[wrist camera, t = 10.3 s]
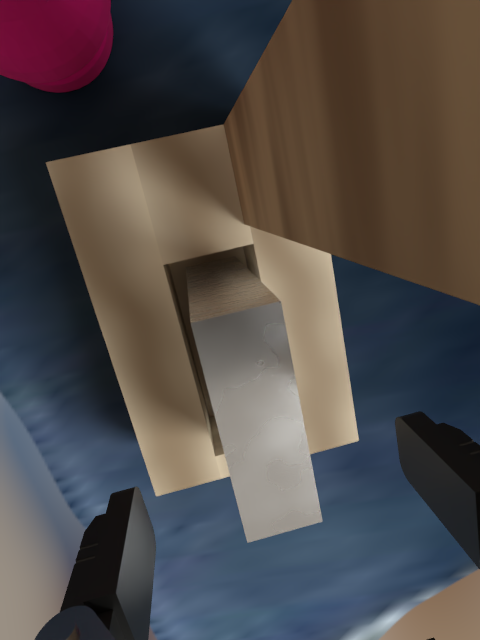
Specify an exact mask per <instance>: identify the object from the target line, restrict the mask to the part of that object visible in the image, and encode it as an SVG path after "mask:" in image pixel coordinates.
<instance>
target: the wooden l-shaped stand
mask: <svg viewBox="0 0 480 640" xmlns="http://www.w3.org/2000/svg"><path fill="white" fill-rule="evenodd" d="M46 165H47V168H48V171H49V174H50V177H51V180H52V183H53V186H54V189H55V192H56V195H57V198H58V201H59V204H60V207H61V210H62V213H63V216H64V219H65V222H66V225H67V228H68V231H69V234H70V237H71V240H72V243H73V246H74V249H75V252H76V255H77V258H78V261H79V264H80V267H81V270H82V274H83V277H84V280H85V283H86V286H87V289H88V292H89V295H90V298H91V301H92V304H93V307H94V310H95V313H96V316H97V319H98V322H99V325H100V328H101V331H102V334H103V337H104V340H105V343H106V346H107V349H108V352H109V355H110V358H111V361H112V364H113V367H114V370H115V373H116V376H117V379H118V382H119V385H120V388H121V391H122V394H123V397H124V400H125V403H126V406H127V409H128V412H129V415H130V418H131V421H132V424H133V427H134V430H135V433H136V436H137V439H138V442H139V446H140V449H141V452H142V455H143V458H144V461H145V464H146V467H147V470H148V473H149V476H150V479H151V482H152V485H153V488H154V491H155V494H156V496H160V495H163V494H167V493H171V492H174V491H178V490H182V489H185V488H189V487H192V486H196V485H200V484H203V483H207V482H211V481H214V480H218V479H222V478H225V477H229V476H230V473H229V470H228V466H227V462H226V458H225V454H224V450H223V446H222V443H221V439H220V435H219V431H218V427H217V423H216V419H215V416H214V412H213V408H212V404H211V400H210V396H209V392H208V389H207V385H206V381H205V377H204V373H203V369H202V365H201V362H200V358H199V354H198V350H197V346H196V342H195V338H194V335H193V331H192V327H191V323H190V311H189V299H188V287H187V275H186V267H190V266H194V265H198V264H203V263H207V262H211V261H215V260H220V259H224V258H228V257H233V256H235V257H237V258H238V259H239V260H240V261H241V262H242V263H243V264H244V265H245V266H246V267H247V268H248V269H249V270H250V271H251V272H252V273H253V274H254V275H255V276H256V277H257V278H258V279H259V280H260V281H261V282H262V283H263V284H264V285H265V286H266V287H267V288H268V289H269V290H270V291H271V292H272V293H273V294H274V295H275V296H276V297H277V298H278V299H279V300H280V301H281V304H282V309H283V314H284V320H285V325H286V330H287V336H288V341H289V346H290V352H291V357H292V362H293V367H294V373H295V378H296V383H297V389H298V394H299V399H300V405H301V410H302V415H303V421H304V426H305V431H306V436H307V442H308V447H309V452H310V454H313V453H316V452H320V451H324V450H327V449H331V448H334V447H338V446H342V445H345V444H349V443H353V442H356V441H359V439H358V432H357V425H356V419H355V412H354V405H353V399H352V392H351V385H350V379H349V372H348V365H347V359H346V352H345V345H344V339H343V332H342V325H341V319H340V312H339V305H338V299H337V292H336V285H335V279H334V272H333V265H332V259H331V254H332V255H335V256H338V257H341V258H344V259H347V260H350V261H353V262H355V263H358V264H361V265H364V266H367V267H370V268H373V269H376V270H379V271H382V272H385V273H388V274H390V275H393V276H396V277H399V278H402V279H405V280H408V281H411V282H414V283H417V284H420V285H423V286H425V287H428V288H431V289H434V290H437V291H440V292H443V293H446V294H449V295H452V296H455V297H457V298H460V299H463V300H466V301H469V302H472V303H475V304H478V305H480V0H292V2H291V4H290V6H289V7H288V9H287V11H286V13H285V15H284V16H283V18H282V20H281V22H280V24H279V25H278V27H277V29H276V31H275V33H274V34H273V36H272V38H271V40H270V42H269V43H268V45H267V47H266V49H265V51H264V53H263V54H262V56H261V58H260V60H259V62H258V63H257V65H256V67H255V69H254V71H253V72H252V74H251V76H250V78H249V80H248V81H247V83H246V85H245V87H244V89H243V90H242V92H241V94H240V96H239V98H238V99H237V101H236V103H235V105H234V107H233V108H232V110H231V112H230V114H229V116H228V117H227V119H226V121H225V123H224V124H223V125H219V126H214V127H209V128H205V129H200V130H195V131H190V132H186V133H181V134H176V135H172V136H167V137H162V138H158V139H153V140H148V141H144V142H139V143H134V144H130V145H125V146H120V147H115V148H111V149H106V150H101V151H97V152H92V153H87V154H83V155H78V156H73V157H69V158H64V159H59V160H55V161H50V162H46Z"/></svg>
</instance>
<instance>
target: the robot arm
mask: <svg viewBox="0 0 480 640" xmlns="http://www.w3.org/2000/svg"><path fill="white" fill-rule="evenodd" d="M395 427H396V435H397V443H398V451H399V459H400V464H401V467H402V470H403V472H404V474H405V476H406V478H407V480H408V481H409V482H410V484H411V485H412V486H413V487H414V489H415V490H416V491H417V492H418V494H419V495H420V496H421V497H422V499H423V500H424V501H425V502H426V504H427V505H428V506H429V507H430V509H431V510H432V511H433V512H434V513H435V515H436V516H437V517H438V518H439V520H440V521H441V522H442V523H443V525H444V526H445V527H446V528H447V530H448V531H449V532H450V533H451V535H452V536H453V537H454V538H455V540H456V541H457V542H458V543H459V545H460V546H461V547H462V548H463V549H464V551H465V552H466V553H467V554H468V556H469V557H470V558H471V559H472V561H473V562H474V563H475V564H476V566H477V567H478V568H479V569H480V445H479V444H477V443H476V442H474V441H473V440H472V439H471V438H470V437H469V436H468V435H466V434H465V433H464V432H463V431H461V430H460V429H457V428H455V427H452V426H450V425H448V424H445V423H441V424H435V423H434V422H433V421H432V420H431V419H430V418H429V417H427V416H426V415H425V414H424V413H423V412H420V411H419V412H416V413H412V414H408V415H404V416H401V417H397V418H396V420H395ZM155 554H156V542H155V535H154V530H153V527H152V524H151V521H150V518H149V515H148V512H147V509H146V506H145V503H144V501H143V498H142V495H141V492H140V490H139V488H138V487H134V488H130V489H126V490H122V491H119V492H115V493H112V494H111V496H110V499H109V503H108V507H107V511H106V514H102V515H98V516H96V517H95V518H94V520H93V521H92V522H91V524H90V525H89V526H88V528H87V529H86V530H85V532H84V536H83V539H82V542H81V545H80V550H79V552H78V555H77V558H76V564H75V565H74V568H73V571H72V574H71V578H70V581H69V584H68V587H67V591H66V594H65V597H64V601H63V604H62V607H61V610H60V613H58V614H57V615H55V616H54V617H53V618H52V619H51V620H49V621H48V622H47V623H46V624H45V626H44V627H43V628H42V629H41V630H40V632H39V633H38V635H37V636H36V638H35V640H148V635H149V624H150V613H151V601H152V589H153V578H154V566H155ZM428 640H435V639H434V638H431V639H428Z"/></svg>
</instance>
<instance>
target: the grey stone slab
mask: <svg viewBox="0 0 480 640" xmlns="http://www.w3.org/2000/svg"><path fill="white" fill-rule="evenodd" d="M186 275H187V287H188V299H189V311H190V323H191V327H192V331H193V335H194V338H195V342H196V346H197V350H198V354H199V358H200V362H201V365H202V369H203V373H204V377H205V381H206V385H207V389H208V392H209V396H210V400H211V404H212V408H213V412H214V416H215V419H216V423H217V427H218V431H219V435H220V439H221V443H222V446H223V450H224V454H225V458H226V462H227V466H228V470H229V473H230V477H231V481H232V485H233V489H234V493H235V497H236V500H237V504H238V508H239V512H240V516H241V520H242V524H243V527H244V531H245V535H246V539H247V543H248V542H252V541H255V540H259V539H262V538H266V537H269V536H273V535H276V534H280V533H283V532H287V531H291V530H294V529H298V528H301V527H305V526H308V525H312V524H315V523H319V522H322V516H321V511H320V505H319V500H318V495H317V489H316V484H315V479H314V474H313V468H312V463H311V458H310V452H309V447H308V442H307V436H306V431H305V426H304V421H303V415H302V410H301V405H300V399H299V394H298V389H297V383H296V378H295V373H294V367H293V362H292V357H291V352H290V346H289V341H288V336H287V330H286V325H285V320H284V314H283V309H282V304H281V301H280V300H279V299H278V298H277V297H276V296H275V295H274V294H273V293H272V292H271V291H270V290H269V289H268V288H267V287H266V286H265V285H264V284H263V283H262V282H261V281H260V280H259V279H258V278H257V277H256V276H255V275H254V274H253V273H252V272H251V271H250V270H249V269H248V268H247V267H246V266H245V265H244V264H243V263H242V262H241V261H240V260H239V259H238V258H237V257H235V256H233V257H228V258H224V259H220V260H215V261H211V262H207V263H203V264H198V265H194V266H190V267H186Z"/></svg>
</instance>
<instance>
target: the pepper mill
mask: <svg viewBox="0 0 480 640" xmlns="http://www.w3.org/2000/svg"><path fill="white" fill-rule="evenodd" d="M110 9H111V0H0V75H2V76H5V77H7V78H10V79H14V80H18V81H22V82H25V83H26V84H28V85H30V86H32V87H35V88H37V89H40V90H43V91H48V92H56V93H60V92H69V91H73V90H77V89H80V88H81V87H83V86H85V85H87V84H89V83H90V82H91V81H93V80H94V79H95V78H96V77H97V76H98V75H99V74H100V72H101V71H102V69H103V68H104V67H105V65H106V63H107V61H108V58H109V56H110V53H111V48H112V43H113V24H112V18H111V14H110Z"/></svg>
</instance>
